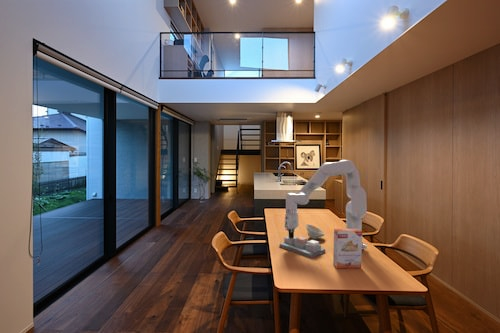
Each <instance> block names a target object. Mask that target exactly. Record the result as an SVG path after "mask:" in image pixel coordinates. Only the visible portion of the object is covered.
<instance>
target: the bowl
mask: <svg viewBox="0 0 500 333" xmlns="http://www.w3.org/2000/svg"><path fill="white" fill-rule="evenodd" d="M305 228H306V230H307V236H308V237H309V238H310V239H312V240H318V239H319V238H322V237H323V236H325V233H324V232H323V231H322V230H321V229H320V228H319V227H316V226H314V225H311V224H305Z"/></svg>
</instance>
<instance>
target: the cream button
mask: <svg viewBox="0 0 500 333" xmlns="http://www.w3.org/2000/svg"><path fill="white" fill-rule="evenodd" d="M307 241H308V245H310V246H313V247H316V246H318V245H319V244H320V241H317V240H316V239H310V240H307Z"/></svg>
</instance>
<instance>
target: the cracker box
mask: <svg viewBox="0 0 500 333" xmlns="http://www.w3.org/2000/svg"><path fill="white" fill-rule="evenodd" d="M362 242H363V231H362V230H361V231H360V230H359V229H346V228H334V230H333V260H332V262H333V263H332V264H333V265H334V267H335V268H336V269H361V268H362V254H363V253H362V252H363V251H362Z"/></svg>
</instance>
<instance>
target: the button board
mask: <svg viewBox="0 0 500 333" xmlns="http://www.w3.org/2000/svg"><path fill="white" fill-rule="evenodd" d="M286 237H289V235H288V236H284V238H283V242H280V243H279V247H280V248H282V249H284V250H287V251H290V252H293V253H296V254H299V255H302V256H305V257H307V258H309V259H313V258H315V257H317V256H320V255H322V254H324V253H326V248H324V247H322V244H320V243H319V245H318V246H316V247H313V246H310V245H308V241H309V240H307V242H305V243H300V242H297V241H296V238H298V236H297V237H296V236H295V237H296V238H295V239H293V240H291V239H288V238H286Z"/></svg>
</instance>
